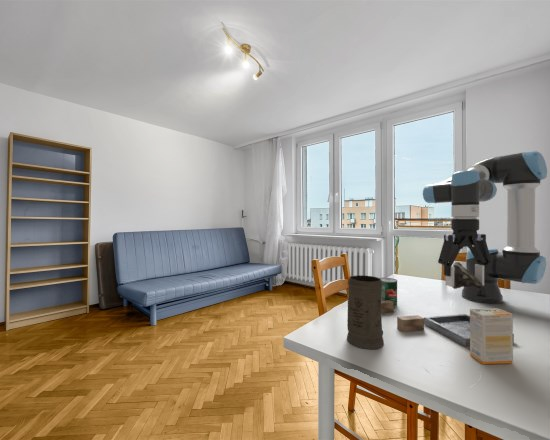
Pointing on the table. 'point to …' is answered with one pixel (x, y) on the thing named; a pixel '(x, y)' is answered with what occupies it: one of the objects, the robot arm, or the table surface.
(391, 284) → the canned tomato
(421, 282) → the table surface
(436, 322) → the dish
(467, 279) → the fossil
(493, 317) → the supplement box
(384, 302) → the cradle
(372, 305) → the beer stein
